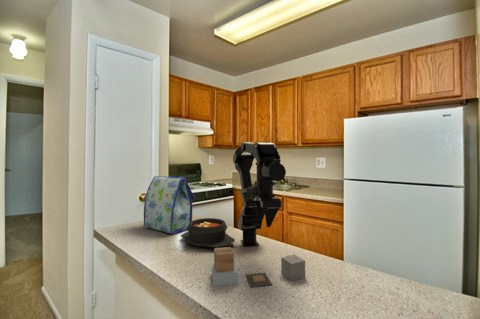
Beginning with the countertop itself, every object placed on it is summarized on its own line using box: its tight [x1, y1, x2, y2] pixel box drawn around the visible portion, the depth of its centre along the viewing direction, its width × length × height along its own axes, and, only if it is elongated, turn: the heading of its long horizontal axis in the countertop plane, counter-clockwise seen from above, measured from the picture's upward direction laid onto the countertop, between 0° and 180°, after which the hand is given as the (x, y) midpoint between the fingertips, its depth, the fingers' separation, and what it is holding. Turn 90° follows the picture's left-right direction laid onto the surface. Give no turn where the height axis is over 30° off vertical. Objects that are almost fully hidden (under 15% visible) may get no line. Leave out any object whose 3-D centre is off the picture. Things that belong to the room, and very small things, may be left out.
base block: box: [211, 261, 239, 287], centre depth 72 cm, size 7×7×4 cm
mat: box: [245, 272, 273, 288], centre depth 71 cm, size 7×6×1 cm
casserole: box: [180, 217, 236, 248], centre depth 103 cm, size 25×19×8 cm
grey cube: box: [280, 254, 306, 282], centre depth 74 cm, size 5×5×5 cm
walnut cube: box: [213, 246, 235, 273], centre depth 72 cm, size 5×5×5 cm
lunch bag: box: [143, 175, 196, 235], centre depth 123 cm, size 22×17×26 cm
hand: (264, 223), depth 86 cm, fingers open, 9 cm apart
